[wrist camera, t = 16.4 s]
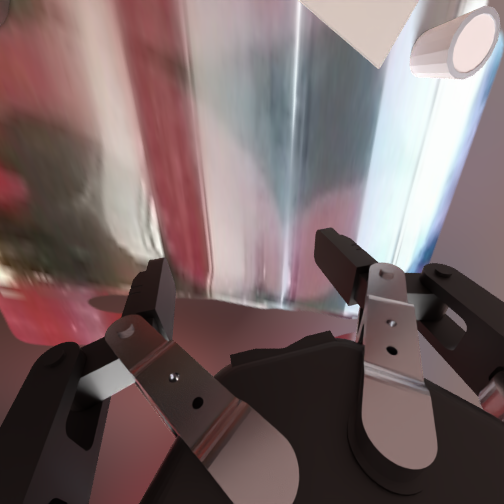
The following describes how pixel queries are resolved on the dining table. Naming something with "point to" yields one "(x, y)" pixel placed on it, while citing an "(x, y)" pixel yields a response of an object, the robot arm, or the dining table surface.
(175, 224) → the dining table surface
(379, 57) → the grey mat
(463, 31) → the beige tapered cup
